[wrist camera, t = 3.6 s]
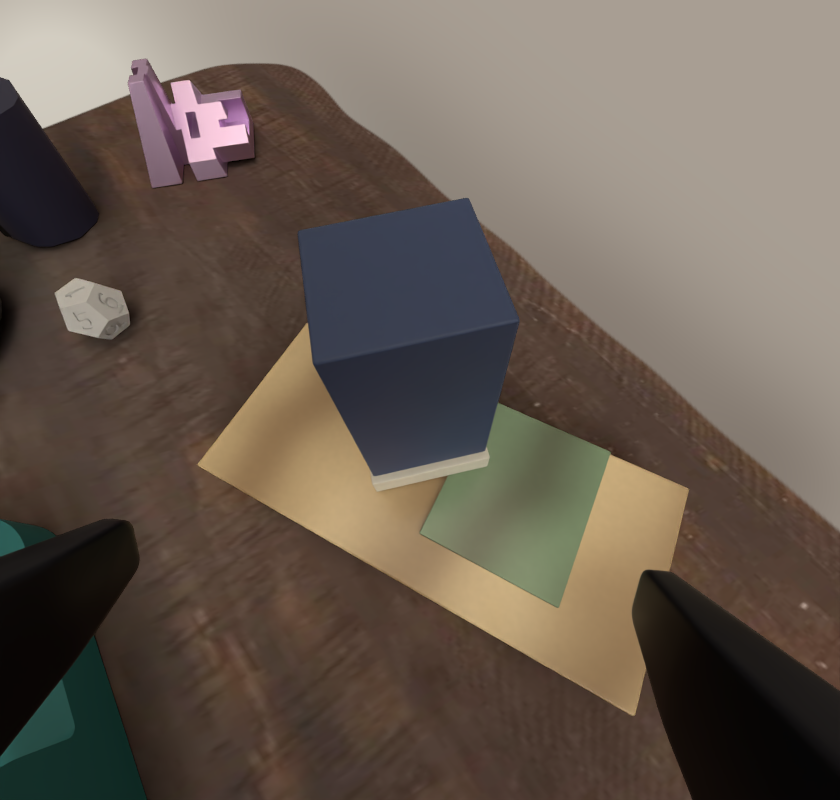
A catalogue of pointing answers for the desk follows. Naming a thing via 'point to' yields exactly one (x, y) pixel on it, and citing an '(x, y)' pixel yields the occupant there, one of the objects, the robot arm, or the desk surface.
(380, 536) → the rectangular slab
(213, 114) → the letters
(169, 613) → the desk surface
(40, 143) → the speaker
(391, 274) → the stepped block on base
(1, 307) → the planter
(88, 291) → the game die
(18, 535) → the bracket
